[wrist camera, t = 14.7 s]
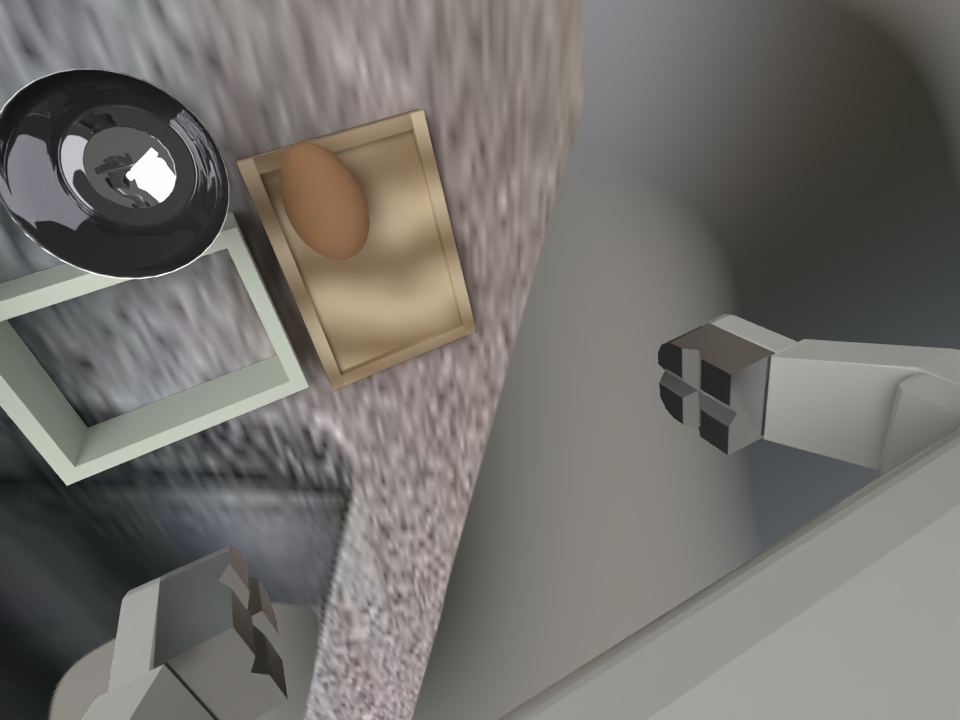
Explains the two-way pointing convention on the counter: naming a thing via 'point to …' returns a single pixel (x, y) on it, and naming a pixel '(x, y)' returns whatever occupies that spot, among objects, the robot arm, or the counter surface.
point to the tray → (373, 253)
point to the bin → (89, 450)
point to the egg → (323, 201)
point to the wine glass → (111, 173)
